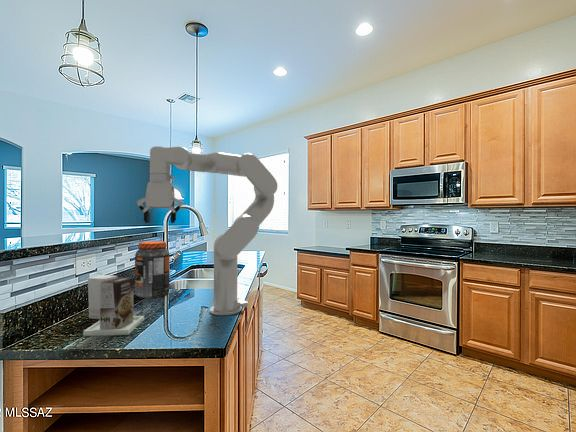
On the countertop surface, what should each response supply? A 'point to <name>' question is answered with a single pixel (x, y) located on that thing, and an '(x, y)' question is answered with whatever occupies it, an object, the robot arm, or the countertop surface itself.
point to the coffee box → (116, 303)
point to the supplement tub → (152, 269)
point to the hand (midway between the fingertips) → (160, 222)
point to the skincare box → (96, 294)
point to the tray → (125, 330)
